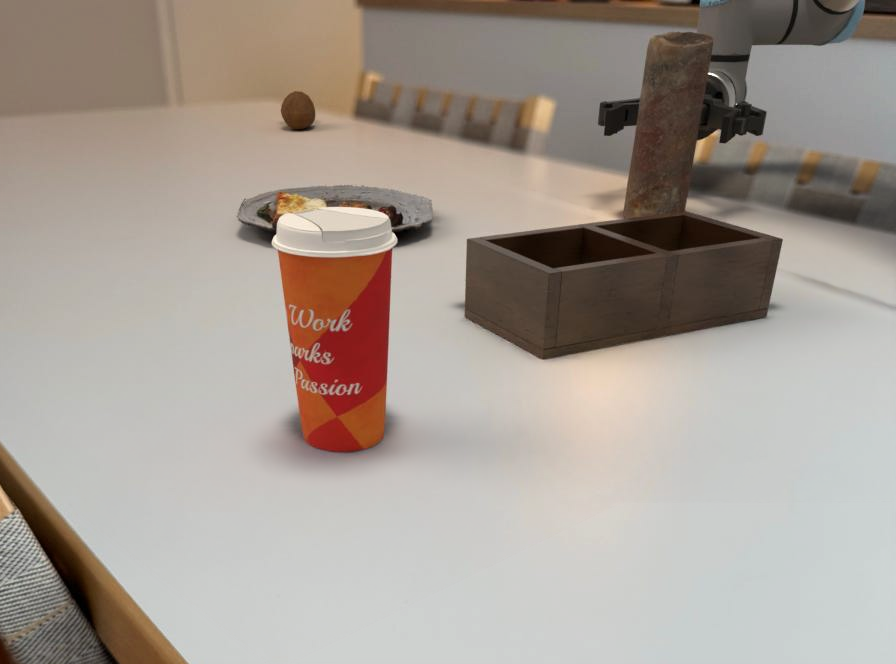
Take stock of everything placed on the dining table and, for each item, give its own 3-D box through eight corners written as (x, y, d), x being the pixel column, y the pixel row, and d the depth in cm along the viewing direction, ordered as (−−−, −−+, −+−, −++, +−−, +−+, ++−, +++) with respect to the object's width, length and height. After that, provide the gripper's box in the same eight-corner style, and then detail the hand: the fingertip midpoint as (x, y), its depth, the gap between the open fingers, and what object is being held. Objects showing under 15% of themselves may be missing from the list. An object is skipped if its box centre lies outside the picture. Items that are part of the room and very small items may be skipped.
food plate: (435, 252, 107) (435, 218, 105) (227, 252, 107) (223, 218, 105) (430, 205, 127) (430, 176, 125) (255, 205, 127) (253, 176, 125)
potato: (280, 132, 181) (277, 94, 177) (283, 125, 189) (280, 88, 185) (315, 132, 181) (313, 94, 178) (316, 124, 189) (314, 88, 186)
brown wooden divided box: (674, 282, 97) (685, 210, 93) (766, 317, 88) (783, 238, 84) (464, 316, 88) (466, 238, 84) (542, 359, 78) (549, 273, 74)
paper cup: (265, 433, 66) (244, 216, 58) (352, 405, 70) (344, 199, 62) (334, 470, 61) (322, 239, 53) (423, 437, 66) (424, 219, 57)
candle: (693, 223, 119) (724, 32, 107) (671, 234, 114) (700, 36, 102) (636, 215, 122) (659, 30, 111) (612, 226, 117) (633, 33, 106)
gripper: (792, 143, 125) (769, 169, 109) (606, 131, 133) (559, 154, 118) (805, 77, 121) (783, 94, 105) (612, 69, 129) (565, 84, 113)
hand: (665, 126), depth 111 cm, fingers open, 13 cm apart
